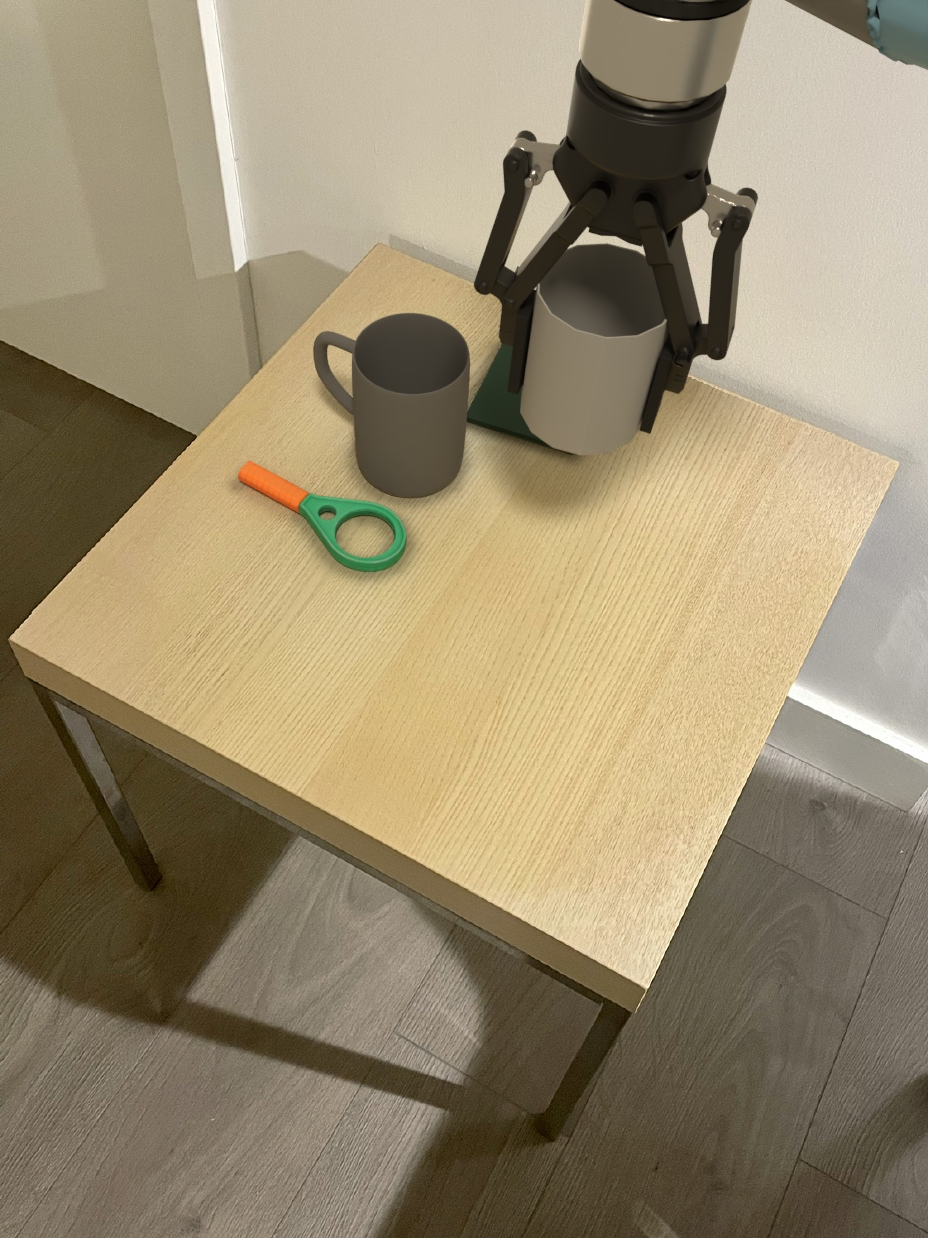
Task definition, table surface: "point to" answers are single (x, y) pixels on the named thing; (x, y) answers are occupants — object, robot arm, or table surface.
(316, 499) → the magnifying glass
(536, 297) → the cup
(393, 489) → the mug
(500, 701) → the table surface
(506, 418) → the coaster mat
